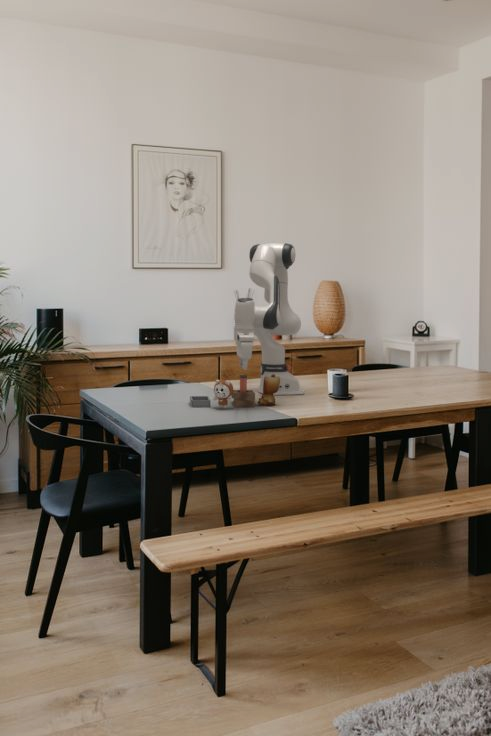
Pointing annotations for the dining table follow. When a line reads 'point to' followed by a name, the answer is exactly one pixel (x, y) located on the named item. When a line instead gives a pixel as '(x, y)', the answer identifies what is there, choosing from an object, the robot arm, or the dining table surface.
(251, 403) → the hitch block
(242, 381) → the pin
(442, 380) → the dining table surface
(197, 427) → the dining table surface
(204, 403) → the tray
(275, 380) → the figurine
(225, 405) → the figurine
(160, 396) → the dining table surface
